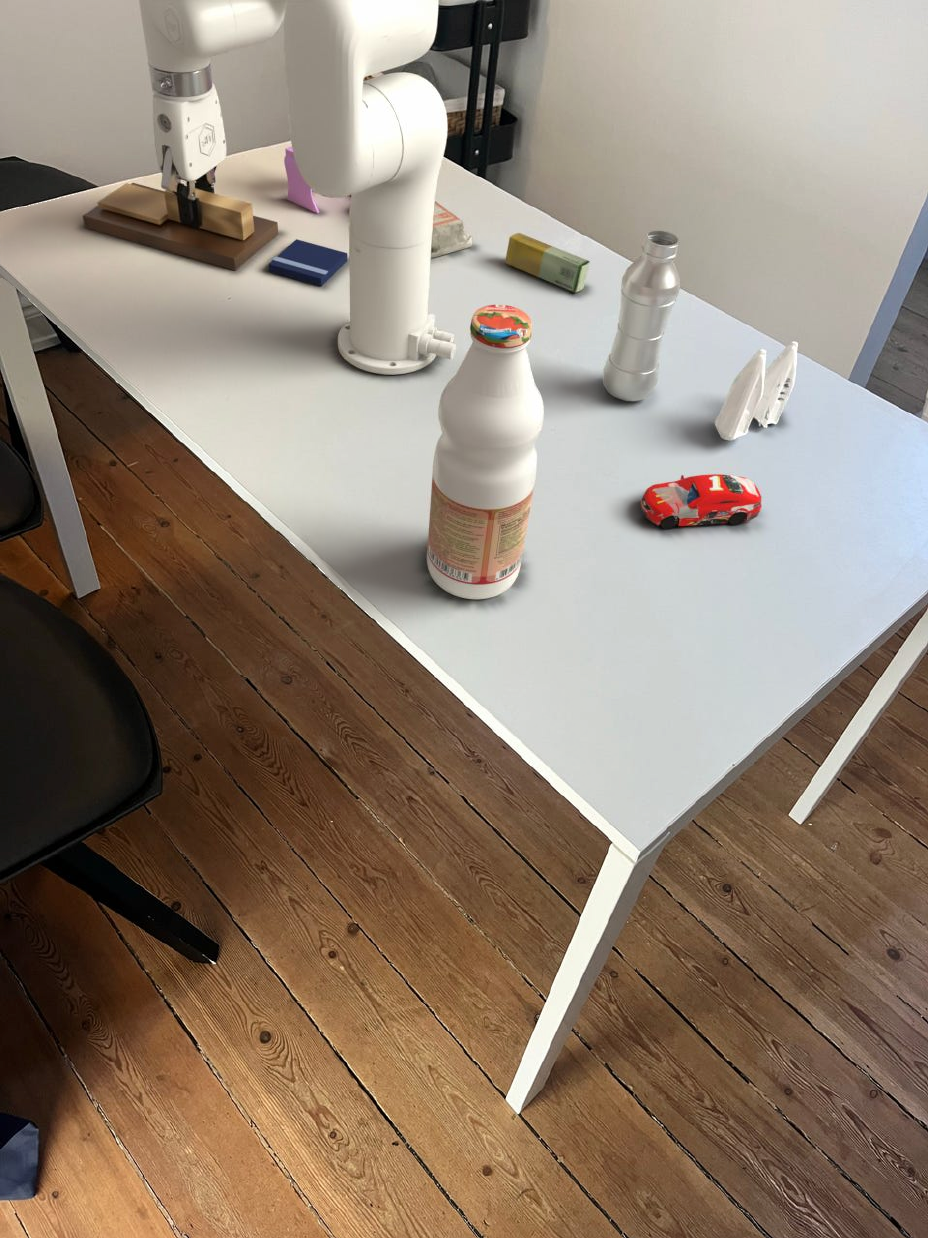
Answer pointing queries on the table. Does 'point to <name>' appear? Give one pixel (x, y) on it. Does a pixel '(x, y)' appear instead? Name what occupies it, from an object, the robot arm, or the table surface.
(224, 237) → the walnut board
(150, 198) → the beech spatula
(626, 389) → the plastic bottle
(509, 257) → the medication box
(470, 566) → the fruit juice
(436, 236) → the packaged product
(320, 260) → the navy tea towel
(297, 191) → the toy chair
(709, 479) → the race car
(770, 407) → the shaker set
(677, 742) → the table surface
